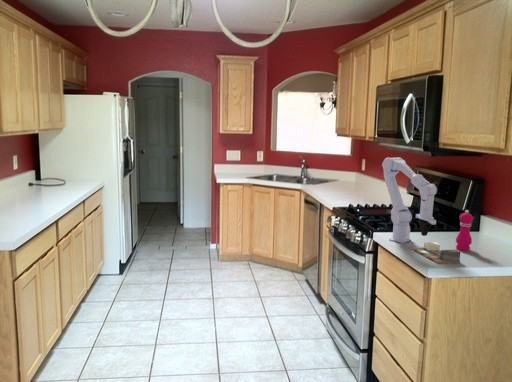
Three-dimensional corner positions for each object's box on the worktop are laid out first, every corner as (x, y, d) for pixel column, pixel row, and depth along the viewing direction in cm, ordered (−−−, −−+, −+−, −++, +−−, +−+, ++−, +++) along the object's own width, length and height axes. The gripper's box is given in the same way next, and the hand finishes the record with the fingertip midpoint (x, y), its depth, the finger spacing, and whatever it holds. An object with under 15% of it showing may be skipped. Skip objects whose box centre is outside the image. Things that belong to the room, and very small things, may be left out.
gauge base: (411, 249, 219) (412, 239, 218) (432, 248, 221) (433, 239, 220) (437, 263, 198) (438, 252, 198) (460, 262, 201) (461, 251, 200)
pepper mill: (465, 252, 217) (470, 212, 213) (451, 248, 223) (456, 209, 219) (473, 250, 221) (478, 210, 218) (459, 246, 227) (464, 207, 223)
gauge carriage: (416, 248, 216) (417, 242, 215) (434, 247, 218) (435, 242, 217) (421, 251, 212) (421, 245, 211) (439, 250, 214) (440, 244, 213)
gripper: (442, 211, 213) (440, 239, 215) (425, 205, 227) (423, 231, 229) (429, 211, 211) (427, 239, 214) (412, 205, 225) (410, 231, 228)
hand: (424, 235), depth 221 cm, fingers closed
